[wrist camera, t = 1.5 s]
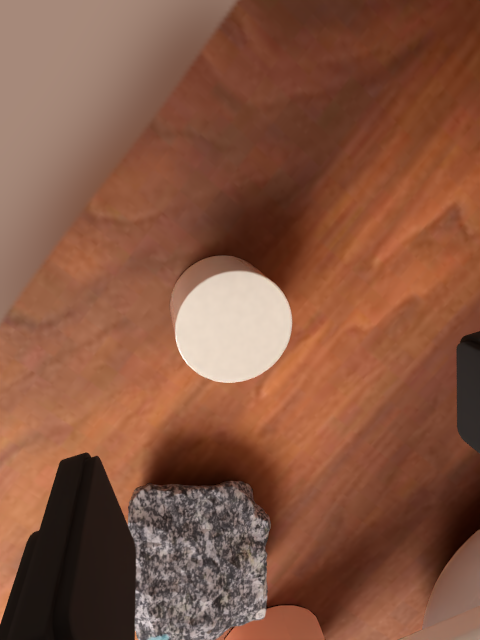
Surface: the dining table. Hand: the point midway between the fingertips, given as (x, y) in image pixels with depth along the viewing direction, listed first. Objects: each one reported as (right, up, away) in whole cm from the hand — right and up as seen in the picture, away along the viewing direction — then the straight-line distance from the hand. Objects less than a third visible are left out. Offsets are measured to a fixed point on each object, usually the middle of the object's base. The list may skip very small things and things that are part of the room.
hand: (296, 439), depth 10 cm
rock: (-5, -9, +13) cm, 17 cm away
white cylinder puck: (-2, +4, +9) cm, 10 cm away
